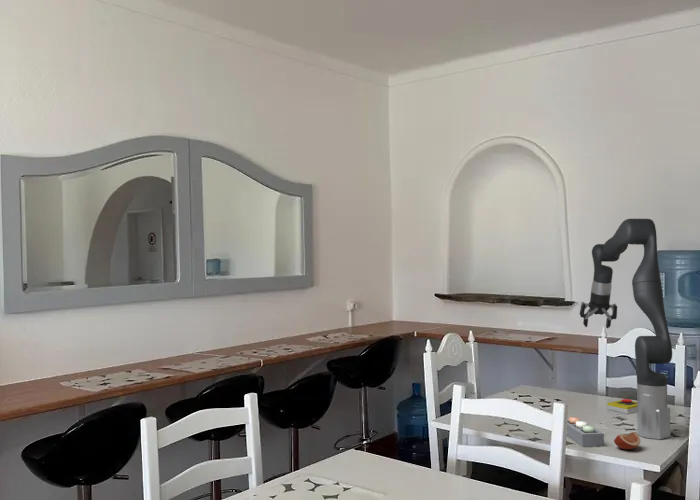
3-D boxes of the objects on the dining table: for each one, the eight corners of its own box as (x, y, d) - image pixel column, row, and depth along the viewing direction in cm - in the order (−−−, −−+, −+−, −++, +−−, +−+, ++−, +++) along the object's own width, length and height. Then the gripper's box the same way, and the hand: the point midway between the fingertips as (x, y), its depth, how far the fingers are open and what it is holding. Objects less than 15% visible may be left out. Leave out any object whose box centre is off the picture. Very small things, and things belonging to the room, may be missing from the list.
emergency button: (647, 400, 259) (623, 405, 251) (647, 411, 259) (623, 416, 251) (626, 395, 267) (602, 400, 259) (626, 406, 267) (602, 411, 259)
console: (560, 431, 230) (560, 420, 230) (580, 431, 230) (580, 419, 230) (582, 446, 212) (582, 434, 212) (603, 446, 213) (603, 433, 213)
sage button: (581, 431, 217) (581, 425, 217) (591, 431, 218) (591, 424, 218) (585, 434, 214) (585, 428, 214) (596, 434, 214) (595, 427, 214)
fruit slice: (627, 444, 214) (627, 429, 214) (646, 449, 209) (645, 433, 209) (609, 448, 210) (609, 432, 210) (627, 454, 204) (627, 437, 204)
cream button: (574, 427, 223) (574, 420, 223) (584, 426, 223) (583, 420, 223) (578, 430, 219) (578, 423, 219) (588, 429, 220) (588, 423, 220)
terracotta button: (567, 423, 228) (567, 416, 228) (577, 422, 229) (577, 416, 229) (571, 425, 225) (571, 419, 225) (581, 425, 225) (581, 419, 225)
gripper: (584, 293, 271) (580, 329, 276) (621, 295, 269) (616, 331, 274) (581, 286, 278) (577, 322, 283) (617, 288, 276) (612, 324, 281)
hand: (596, 326), depth 279 cm, fingers open, 8 cm apart
